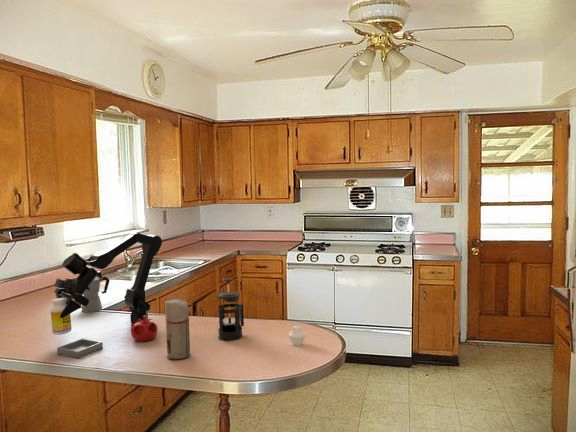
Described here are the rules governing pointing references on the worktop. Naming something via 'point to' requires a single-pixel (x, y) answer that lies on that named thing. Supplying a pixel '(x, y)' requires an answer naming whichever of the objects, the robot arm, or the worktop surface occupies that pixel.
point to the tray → (80, 348)
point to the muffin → (297, 336)
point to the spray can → (177, 329)
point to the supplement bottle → (59, 323)
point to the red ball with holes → (144, 330)
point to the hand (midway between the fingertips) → (56, 316)
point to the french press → (232, 324)
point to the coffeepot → (95, 295)
